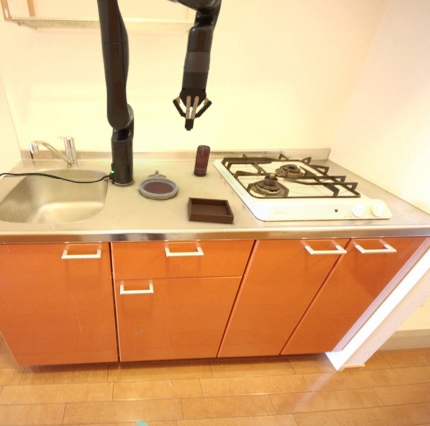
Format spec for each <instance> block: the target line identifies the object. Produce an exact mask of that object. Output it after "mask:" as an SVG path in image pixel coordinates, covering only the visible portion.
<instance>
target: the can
mask: <svg viewBox="0 0 430 426" xmlns="http://www.w3.org/2000/svg"><path fill="white" fill-rule="evenodd" d="M210 154H211V147H210V146H209V145H205V144H200V145H198V146H197V148H196V153H195V160H194V167H193V175H194V176H196V177H198V178H199V177H201V178H202V177H205V176H206V175H207V171H208V165H209V159H210Z"/></svg>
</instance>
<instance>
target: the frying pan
mask: <svg viewBox="0 0 430 426" xmlns="http://www.w3.org/2000/svg"><path fill="white" fill-rule="evenodd" d="M159 172H160V171H159V170H158V169H156V170H155V173H153V174H148V178H146V179H142V180H141V181H140V182H139V184H138V190H139V191H140V193H141V195H142V196H144V197H146V198H147V199H152V200H159V201H160V200H167V199H171V198H173V197H175V195H176V194H177V192H178V191H179V186H178V184H177V182H175V181H174V180H172V179H170V178H167V176H166V174H159Z"/></svg>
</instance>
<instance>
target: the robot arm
mask: <svg viewBox="0 0 430 426" xmlns="http://www.w3.org/2000/svg"><path fill="white" fill-rule="evenodd" d="M118 1H119V0H96V5H97V13H98V21H99V30H100V44H101V54H102V63H103V71H104V79H105V80H104V81H105V89H106V119H107V122H108V125H109V126H110V127H111V128H112V131H111V136H110V137H111V138H110V149H111V150H110V151H111V162H110V172H109V174H107V175H104V176H103V177H101V178H100V179H97V180H91V181H79V180H78V181H77V180H73V179H68V178H64V177H61V176H56V175H54V174H49V173H43V172H42V173H41V172H27V173H26V172H23V173H12V172H2V173H0V177H2V176H4V175H7V176H31V175H35V176H37V175H38V176H46V177H51V178H55V179H59V180H61V181H64V182H65V181H66V182H69V183H74V184H93V183H98V182H102V181H103V180H104V179H106V178H108V181H111V183H112V185H115V186H120V187H127V186H130V185H132V184H134V139H135V113H134V109H133V107H132V106H131V104H130V103H129V102H128V96H127V84H128V77H129V71H130V40H129V34H128V30H127V27H126V24H125V20H124V17H123V15H122V12H121V9H120V6H119V2H118ZM167 1H168V2H171V3H173V4H180V5H182V6H184V7H186V8H189V9H190V10H193V11H195V15H194V21H193V25H192V26H191V27H190V28H189V29H188V33H187V40H186V50H185V56H184V60H183V61H184V62H183V68H182V69H183V72H182V81H181V89H180V92H179V94H178V96H177V97H175V98H173V100H172V104H173V106H174V107H175V109H176V110H177V112H178V114H179V116H180V117H181V118H184V119H185V120H184V129H185V130H186V132H191V130H193V129H194V124H195V120H196V119H198V118H200V117H202V115H203V114H204V113H206V111H207V110H208V109H209V108H210V107H211V106H212V104H213V102H212V100H210V99H209V98H208V97H207V84H208V80H209V79H208V78H209V73H210V72H209V71H210V65H211V51H212V48H213V40H214V33H215V29H216V26H217V24H218V20H219V15H220V12H221V7H222V1H223V0H167ZM181 102H182V104H183V107H185V111H184V110H183V109H182V107H181V105H180V104H181ZM202 104H203V105H202ZM201 105H202V107H200V106H201ZM199 107H200V109H199V110H198V111H197V109H198V108H199Z"/></svg>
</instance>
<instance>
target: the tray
mask: <svg viewBox="0 0 430 426" xmlns="http://www.w3.org/2000/svg"><path fill="white" fill-rule="evenodd" d="M187 207H188V208H187V209H188V218H189V219H188V220H189V222H201V223H215V224H227V225H228V224H230V225H233V222H234V218H235V215H234V213H233V210H232V207H231V206H230V202H229V200H228V199H221V198H219V199H218V198H206V197H205V198H204V197H190V196H188V199H187Z"/></svg>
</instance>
